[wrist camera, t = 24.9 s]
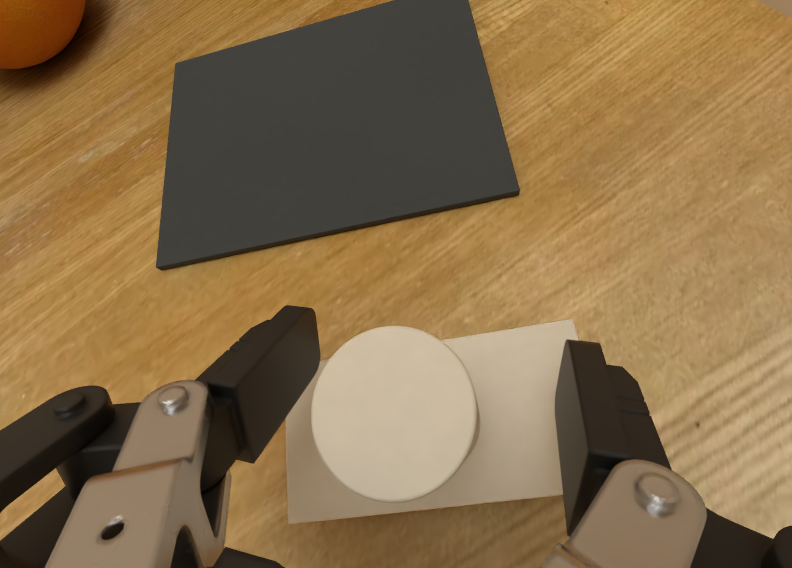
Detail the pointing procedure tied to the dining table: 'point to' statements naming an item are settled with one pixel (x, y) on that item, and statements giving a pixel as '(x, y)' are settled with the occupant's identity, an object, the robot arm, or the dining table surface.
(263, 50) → the scrub mat
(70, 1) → the fruit
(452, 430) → the cream block with cylinder
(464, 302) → the dining table surface
